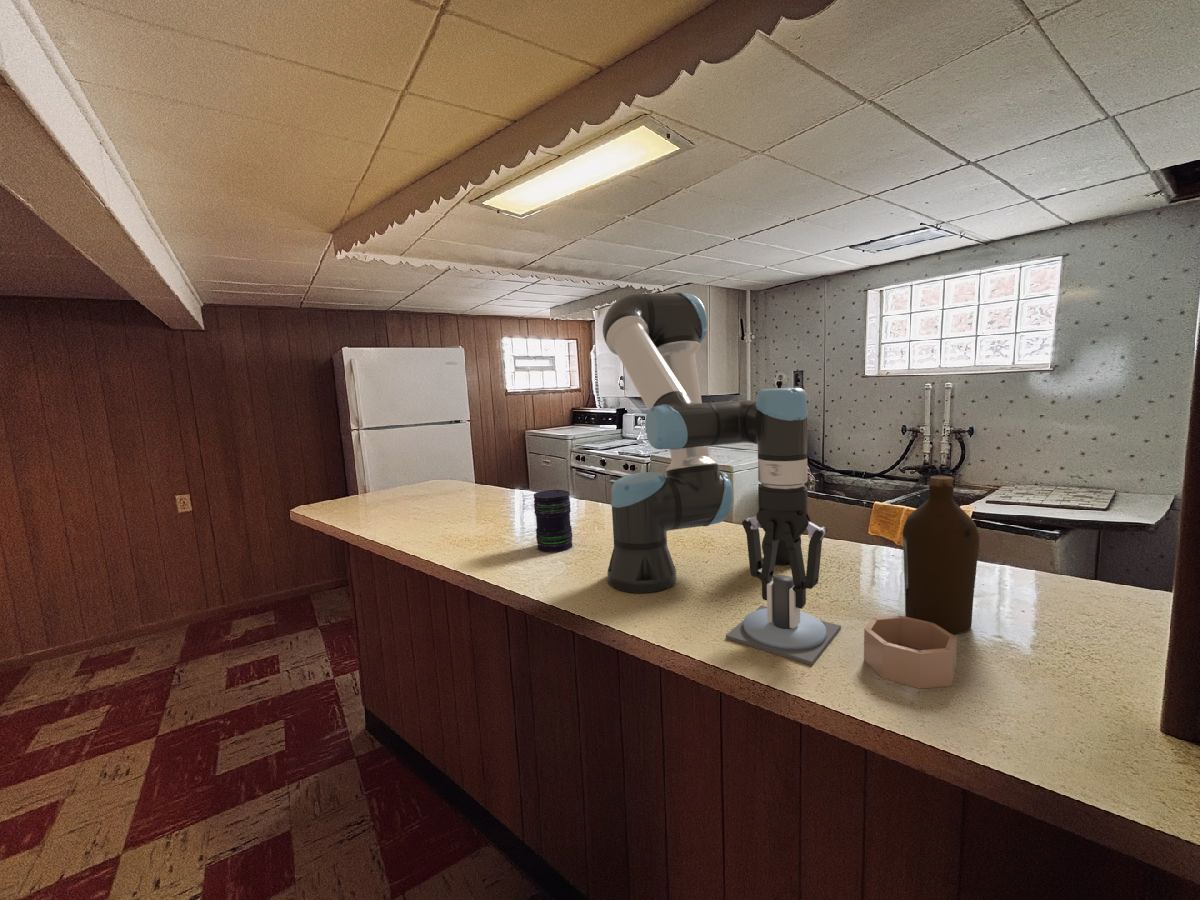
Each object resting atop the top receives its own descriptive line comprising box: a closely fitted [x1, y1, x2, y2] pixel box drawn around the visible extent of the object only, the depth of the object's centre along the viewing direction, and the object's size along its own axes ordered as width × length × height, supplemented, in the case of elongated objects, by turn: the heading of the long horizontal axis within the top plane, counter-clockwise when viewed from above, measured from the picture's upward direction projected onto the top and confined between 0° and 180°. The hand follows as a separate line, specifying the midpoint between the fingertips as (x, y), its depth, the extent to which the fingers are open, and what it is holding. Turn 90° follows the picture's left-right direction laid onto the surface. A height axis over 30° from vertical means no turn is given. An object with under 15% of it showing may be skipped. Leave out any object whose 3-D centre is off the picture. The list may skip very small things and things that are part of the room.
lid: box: [743, 574, 826, 650], centre depth 84 cm, size 13×13×9 cm
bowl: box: [863, 614, 958, 690], centre depth 73 cm, size 11×11×5 cm
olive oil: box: [902, 475, 980, 635], centre depth 85 cm, size 11×11×25 cm
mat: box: [725, 605, 842, 666], centre depth 85 cm, size 14×14×1 cm
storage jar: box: [533, 489, 574, 554], centre depth 138 cm, size 10×10×15 cm
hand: (783, 621), depth 85 cm, fingers closed on lid, 3 cm apart
